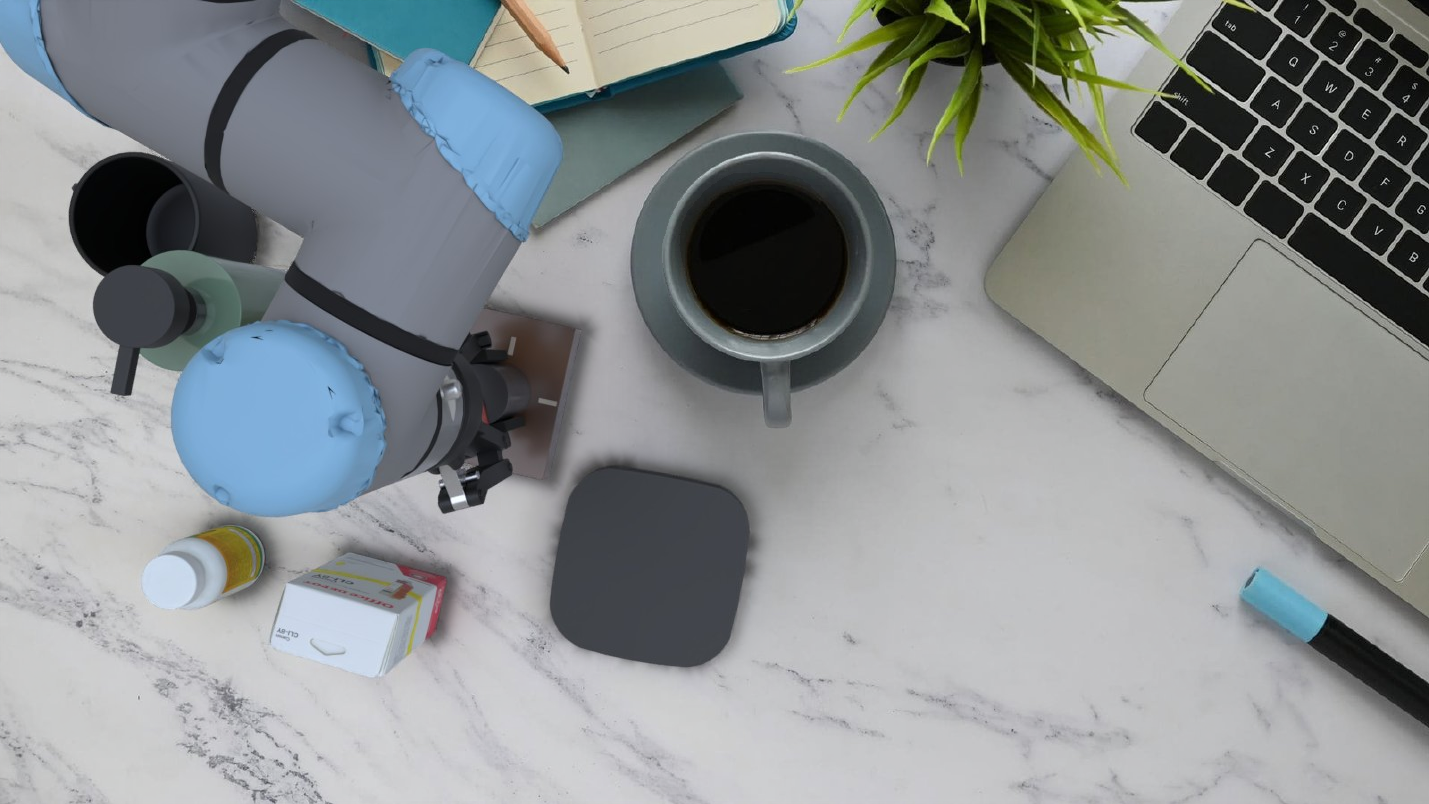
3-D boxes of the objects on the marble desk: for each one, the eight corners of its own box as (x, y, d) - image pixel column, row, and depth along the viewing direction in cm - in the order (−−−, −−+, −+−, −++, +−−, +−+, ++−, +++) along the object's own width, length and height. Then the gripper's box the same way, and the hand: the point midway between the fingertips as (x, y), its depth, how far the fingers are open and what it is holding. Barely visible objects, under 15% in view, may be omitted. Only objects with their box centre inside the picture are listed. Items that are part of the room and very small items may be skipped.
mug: (140, 142, 78) (64, 114, 69) (278, 204, 78) (220, 184, 69) (95, 251, 79) (13, 237, 70) (232, 313, 79) (168, 306, 70)
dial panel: (471, 304, 79) (460, 302, 75) (581, 329, 79) (575, 328, 75) (440, 451, 79) (428, 455, 76) (549, 475, 79) (542, 480, 76)
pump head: (125, 260, 54) (101, 256, 52) (203, 278, 54) (182, 274, 52) (100, 385, 55) (75, 385, 52) (178, 402, 55) (156, 404, 52)
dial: (467, 370, 76) (437, 371, 68) (522, 357, 76) (499, 356, 68) (481, 426, 76) (453, 433, 68) (536, 412, 76) (515, 418, 68)
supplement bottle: (233, 602, 80) (166, 635, 70) (187, 554, 80) (114, 581, 70) (281, 557, 80) (220, 584, 70) (235, 509, 79) (168, 530, 70)
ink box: (450, 576, 79) (402, 614, 68) (434, 635, 80) (384, 682, 68) (348, 548, 79) (281, 580, 68) (332, 606, 80) (264, 649, 68)
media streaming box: (757, 489, 79) (759, 494, 76) (724, 667, 80) (724, 678, 76) (578, 456, 79) (572, 460, 76) (546, 634, 80) (539, 644, 77)
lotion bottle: (299, 272, 79) (123, 235, 56) (384, 291, 79) (243, 262, 56) (281, 358, 79) (99, 356, 56) (366, 377, 79) (219, 384, 56)
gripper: (507, 550, 52) (575, 491, 75) (421, 224, 51) (517, 267, 74) (370, 584, 52) (480, 515, 75) (282, 260, 51) (421, 292, 74)
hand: (498, 392), depth 75 cm, fingers closed on dial, 4 cm apart
